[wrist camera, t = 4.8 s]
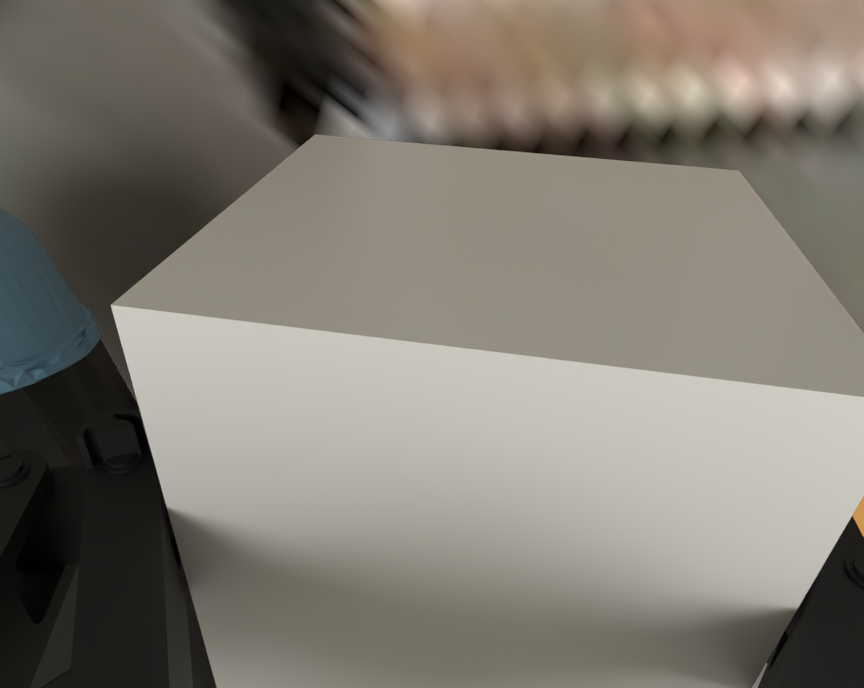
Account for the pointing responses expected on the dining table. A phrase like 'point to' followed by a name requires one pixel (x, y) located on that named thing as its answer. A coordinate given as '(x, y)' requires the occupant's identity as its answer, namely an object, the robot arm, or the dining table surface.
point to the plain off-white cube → (495, 421)
